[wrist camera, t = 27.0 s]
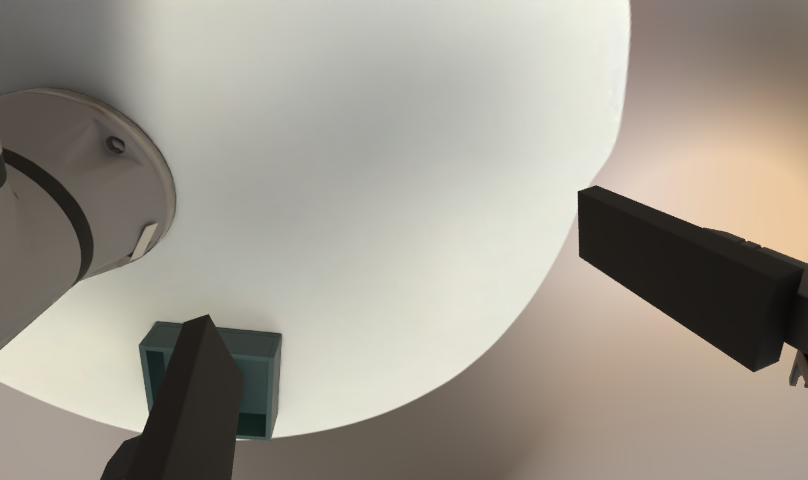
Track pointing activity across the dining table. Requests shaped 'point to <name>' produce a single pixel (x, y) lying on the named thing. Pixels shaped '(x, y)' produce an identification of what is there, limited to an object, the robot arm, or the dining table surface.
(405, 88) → the dining table surface
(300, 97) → the dining table surface
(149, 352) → the holder
